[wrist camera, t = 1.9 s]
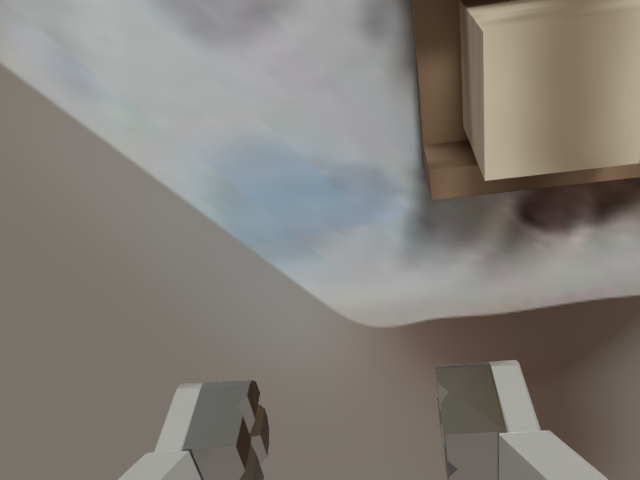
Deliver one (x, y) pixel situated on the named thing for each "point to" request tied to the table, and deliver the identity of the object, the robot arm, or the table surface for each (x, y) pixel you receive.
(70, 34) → the table surface
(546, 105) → the block
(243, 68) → the table surface
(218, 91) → the table surface
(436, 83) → the chute
